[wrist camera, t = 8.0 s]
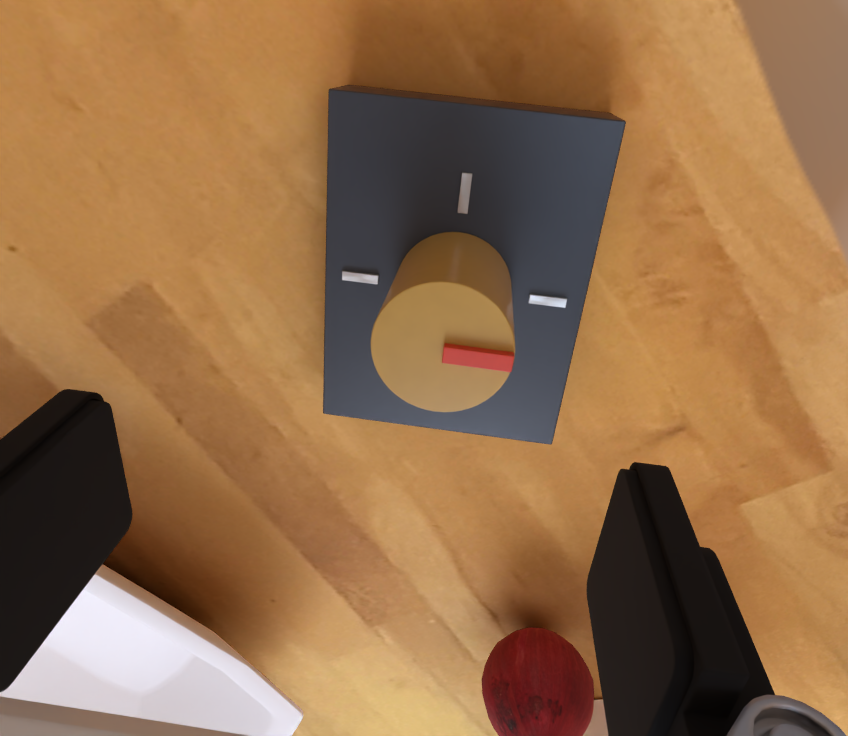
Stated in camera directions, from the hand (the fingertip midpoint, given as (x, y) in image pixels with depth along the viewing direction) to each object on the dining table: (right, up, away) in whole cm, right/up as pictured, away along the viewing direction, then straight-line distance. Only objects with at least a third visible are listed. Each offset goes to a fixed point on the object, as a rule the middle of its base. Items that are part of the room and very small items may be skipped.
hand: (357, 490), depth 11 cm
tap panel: (+3, +7, +15) cm, 16 cm away
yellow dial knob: (+2, +5, +12) cm, 13 cm away
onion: (+8, -13, +25) cm, 29 cm away
